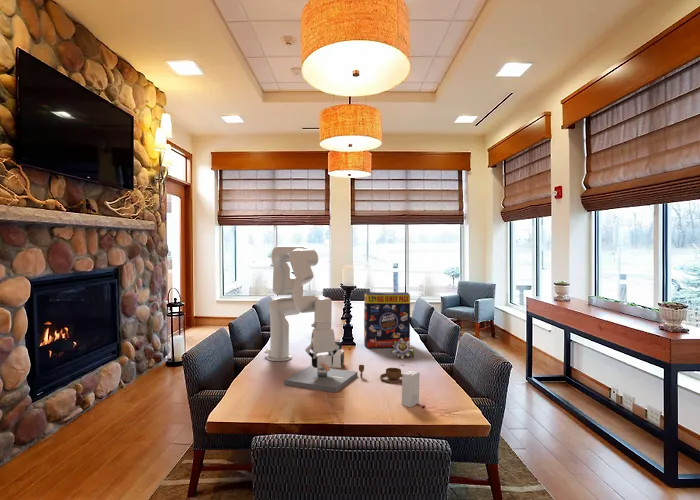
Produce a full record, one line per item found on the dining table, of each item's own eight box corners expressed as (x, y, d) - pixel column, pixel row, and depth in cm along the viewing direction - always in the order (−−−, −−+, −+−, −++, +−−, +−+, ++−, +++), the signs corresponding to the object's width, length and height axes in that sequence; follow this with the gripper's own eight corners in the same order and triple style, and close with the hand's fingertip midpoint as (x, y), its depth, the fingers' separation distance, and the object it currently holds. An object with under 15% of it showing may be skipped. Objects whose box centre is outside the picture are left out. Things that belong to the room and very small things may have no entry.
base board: (284, 384, 187) (284, 379, 187) (310, 369, 210) (310, 365, 210) (335, 392, 178) (335, 387, 178) (357, 376, 200) (357, 371, 200)
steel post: (315, 376, 193) (315, 367, 193) (319, 373, 197) (320, 364, 197) (324, 377, 191) (324, 368, 191) (328, 375, 195) (328, 366, 195)
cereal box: (406, 343, 267) (406, 291, 267) (411, 347, 255) (411, 292, 256) (363, 344, 264) (363, 291, 264) (366, 348, 252) (366, 293, 253)
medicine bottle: (340, 368, 212) (341, 343, 212) (326, 367, 214) (326, 342, 214) (344, 364, 219) (344, 340, 219) (330, 363, 221) (330, 339, 221)
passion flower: (402, 368, 232) (390, 351, 229) (397, 359, 242) (385, 343, 239) (420, 357, 232) (408, 339, 229) (414, 348, 243) (403, 331, 240)
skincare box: (409, 400, 170) (410, 369, 170) (419, 403, 167) (420, 371, 167) (400, 405, 165) (401, 373, 165) (411, 408, 163) (411, 375, 162)
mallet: (320, 371, 185) (320, 360, 185) (313, 364, 196) (313, 353, 196) (335, 370, 187) (335, 358, 187) (327, 363, 198) (327, 352, 198)
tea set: (393, 388, 186) (393, 374, 186) (356, 378, 198) (356, 365, 198) (414, 378, 199) (414, 365, 199) (378, 370, 212) (378, 358, 212)
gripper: (307, 328, 186) (307, 370, 186) (344, 325, 194) (343, 365, 194) (301, 325, 193) (300, 366, 193) (337, 322, 201) (336, 361, 201)
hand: (322, 365), depth 194 cm, fingers closed on mallet, 6 cm apart
